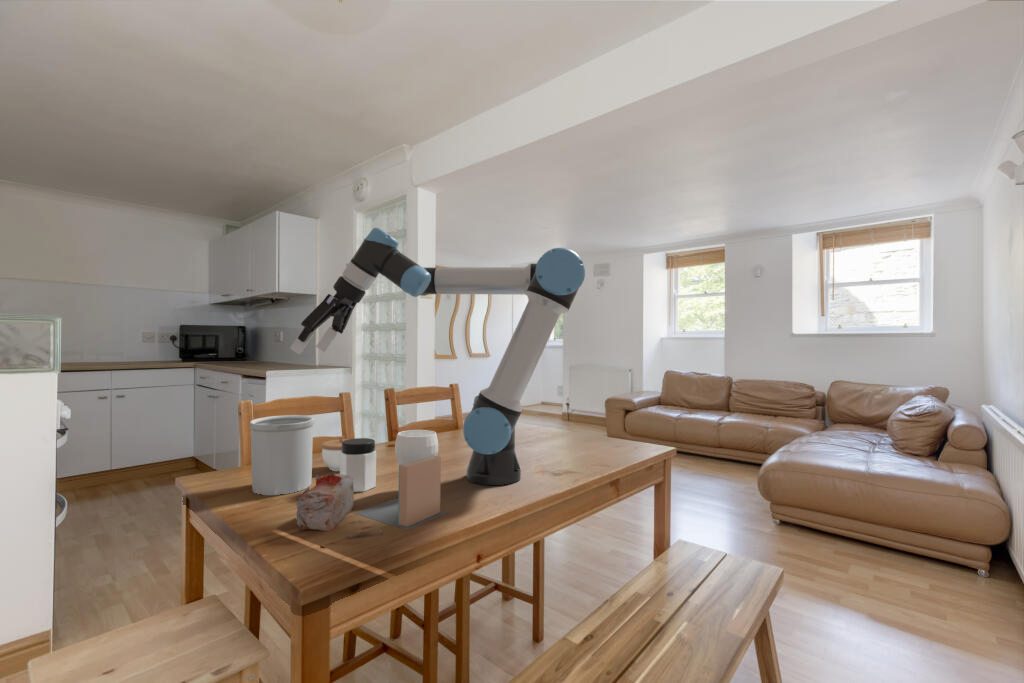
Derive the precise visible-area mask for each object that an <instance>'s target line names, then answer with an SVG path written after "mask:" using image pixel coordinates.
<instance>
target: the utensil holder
mask: <svg viewBox="0 0 1024 683" xmlns="http://www.w3.org/2000/svg"><path fill="white" fill-rule="evenodd" d="M314 424H315V418H314V417H313V416H311V415H304V414H303V415H301V414H300V415H299V414H285V415H273V416H271V415H270V416H265V417H259V418H255V419H252V420H250V421H249V428H250V449H251V450H250V451H251V453H250V455H251V459H250V460H251V487H252V492H253V493H254V494H256V493H257V494H256V495H259V494H262V495H261V496H281V495H280V494H284V495H289V493H290V494H294V492H295V493H298V492H301V491H305V489H306V490H307V489H308V488H309V487H311V485H312V476H313V474H312V471H313V443H314V442H313V439H314V437H313V436H314ZM297 491H298V492H297Z"/></svg>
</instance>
